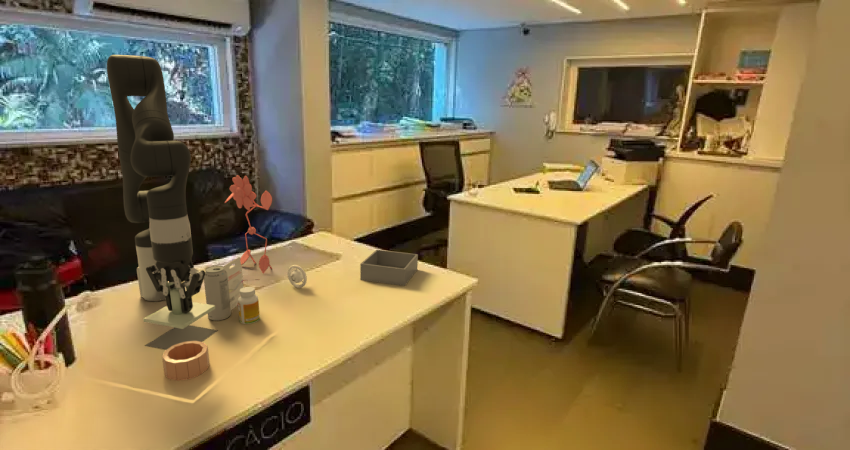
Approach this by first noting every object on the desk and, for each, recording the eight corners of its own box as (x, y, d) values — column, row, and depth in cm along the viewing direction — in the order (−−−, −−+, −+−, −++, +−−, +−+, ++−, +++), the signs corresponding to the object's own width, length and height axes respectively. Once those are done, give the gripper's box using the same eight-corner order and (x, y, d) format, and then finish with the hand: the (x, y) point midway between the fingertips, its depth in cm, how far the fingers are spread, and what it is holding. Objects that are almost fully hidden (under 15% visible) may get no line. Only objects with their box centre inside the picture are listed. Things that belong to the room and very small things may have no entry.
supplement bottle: (263, 318, 131) (261, 287, 128) (251, 327, 126) (248, 294, 124) (248, 315, 133) (245, 284, 130) (235, 323, 128) (232, 291, 125)
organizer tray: (360, 279, 161) (360, 263, 159) (376, 264, 176) (376, 249, 174) (404, 285, 157) (405, 269, 155) (417, 269, 172) (417, 254, 170)
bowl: (156, 378, 103) (153, 358, 101) (185, 357, 111) (183, 338, 110) (190, 385, 101) (187, 365, 99) (217, 363, 109) (215, 344, 108)
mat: (144, 347, 115) (144, 345, 114) (180, 325, 126) (180, 323, 126) (185, 355, 112) (185, 353, 112) (218, 332, 123) (218, 330, 123)
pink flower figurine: (243, 257, 178) (234, 168, 167) (289, 273, 164) (282, 176, 154) (206, 270, 165) (194, 174, 155) (252, 288, 152) (243, 184, 142)
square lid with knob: (143, 321, 99) (139, 295, 97) (178, 302, 108) (175, 278, 106) (182, 328, 96) (179, 301, 95) (215, 308, 106) (212, 283, 104)
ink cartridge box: (230, 299, 142) (226, 254, 138) (245, 301, 141) (241, 256, 137) (213, 311, 134) (208, 264, 130) (228, 313, 133) (224, 266, 129)
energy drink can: (214, 312, 134) (209, 264, 129) (234, 313, 133) (230, 265, 129) (204, 322, 128) (198, 272, 124) (225, 323, 128) (220, 273, 123)
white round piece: (284, 286, 153) (283, 264, 151) (296, 281, 158) (295, 259, 155) (302, 292, 149) (301, 269, 147) (314, 286, 154) (313, 263, 152)
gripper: (129, 237, 95) (140, 313, 100) (186, 245, 92) (195, 323, 97) (157, 228, 102) (167, 299, 107) (211, 235, 99) (219, 308, 104)
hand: (180, 310), depth 102 cm, fingers closed on square lid with knob, 3 cm apart
